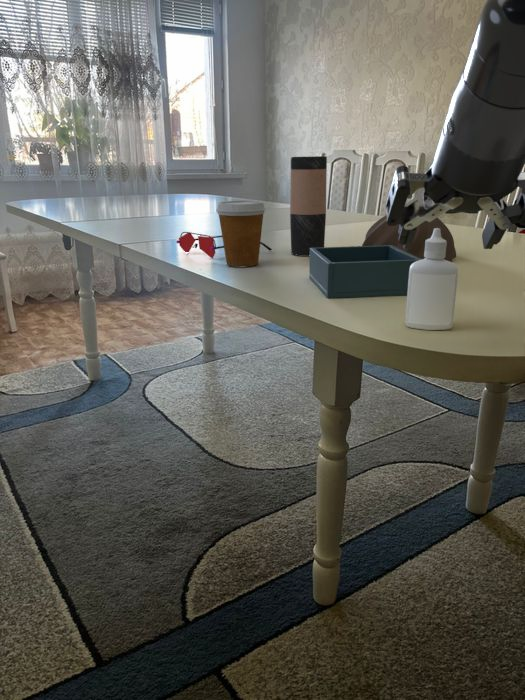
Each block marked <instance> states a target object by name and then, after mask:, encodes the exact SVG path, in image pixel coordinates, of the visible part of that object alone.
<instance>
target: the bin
mask: <svg viewBox="0 0 525 700" xmlns="http://www.w3.org/2000/svg"><path fill="white" fill-rule="evenodd" d="M419 260H422V259H420V258H418V257H416V256H414V255H412V254H410V253H407V252H405V251H403V250H401V249H399V248H397V247H395V246H392V245H382V246H362V245H357V246H355V245H354V246H324V247H320V248H310V256H309V274H308V277H309V280H311V281H312V283H313V284H314V285H315V286H316V287H317V288H318V290H319V291H320V292H321V293H322V294H323V295H324V296H325V297H326V299H343V298H344V299H345V298H347V299H349V298H369V297H372V298H373V297H395V296H407V291H408V279H409V269H410V266H411V264H412V263H414V262H416V261H419Z"/></svg>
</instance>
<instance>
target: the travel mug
mask: <svg viewBox="0 0 525 700" xmlns="http://www.w3.org/2000/svg"><path fill="white" fill-rule="evenodd" d="M327 164H328V157H327V156H326V155H324V156H323V155H321V156H319V155H318V156H292V157H290V176H289V177H290V179H289V180H290V182H289V183H290V185H289V186H290V187H289V188H290V190H289V199H290V200H289V213H290V214H289V220H290V221H289V223H290V224H289V225H290V252H291V253H290V254H292V253H293V254H297V255H310V248H320V247H325V239H326V222H327V221H326V219H327V175H328V174H327V172H328V171H327V170H328V169H327V167H328V165H327ZM293 254H292V255H293Z"/></svg>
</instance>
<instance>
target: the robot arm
mask: <svg viewBox="0 0 525 700" xmlns="http://www.w3.org/2000/svg"><path fill="white" fill-rule="evenodd" d="M468 50H469V51H468V54H467V57H466V60H465V63H464V67H463V69H462V72H461V75H460V77H459V80H458V81H457V84H456V85H455V88H454V90H453V93H452V96H451V99H450V103H449V107H448V109H447V113H446V117H445V120H444V123H443V127H442V130H441V133H440V137H439V141H438V143H437V147H436V150H435V154H434V158H433V162H432V164H431V166H430V167H429V168H428V169H427V170H426V171H424V173H423V172H422V173H421V172H410V171H409V167H408V166H407V165H399V166H398V167H396V169H395V171H394V174H393V178H392V181H391V184H390V188H389V191H388V196H387V198H386V201H385V211H386V215H387V225H389V226H395V225H397V224H400V226H399V230H398V238H399V244H400V245H403V246H404V249H411V247H412V243H413V240H414V237H415V234H416V230H417V229H416V227H417V226H418V225H420V224H421V223H423V222H424V221H428V222H431V221H432V220H434V219H436V218H438V217H441V216H442V215H443V214H445V215H446V214H447V215H449V214H450V215H451V214H452V215H453V214H459V213H464V214H479V212H482V211H484V213H485V214H486V215H487V217H488V219H487V222H486V224H485V226H484V229H483V230H482V233H481V240H482V246H483V249H484V250H492V249H493V247H494V246H495V245H498V244H500V242H501V241H502V239H503V238H504V235H505V233H506V232H507V230H508V229H510V228H511V227H512V225H515V224H519V225H520V226H525V171H523V169H524V167H525V0H486V1H485V2H484V5H483V7H482V9H481V11H480V14H479V17H478V19H477V24H476V25H475V29H474V34H473V37H472V39H471V43H470V47H469V49H468ZM517 188H520V193H519V195H518V197H517V200H516V203H515V204H511V205H509V204H508V203H507V201H506V199H505V197H507V196H509V195H510V194H512V193H514V191H516V190H517ZM417 190H418V192H417V194H416V196H415V197H414V198H413V195H414V194H415V193H416V191H417ZM408 199H409V200H410V199H411V200H410V201H407V200H408ZM418 209H419V210H418ZM417 210H418V212H417V213H415V211H417Z"/></svg>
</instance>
